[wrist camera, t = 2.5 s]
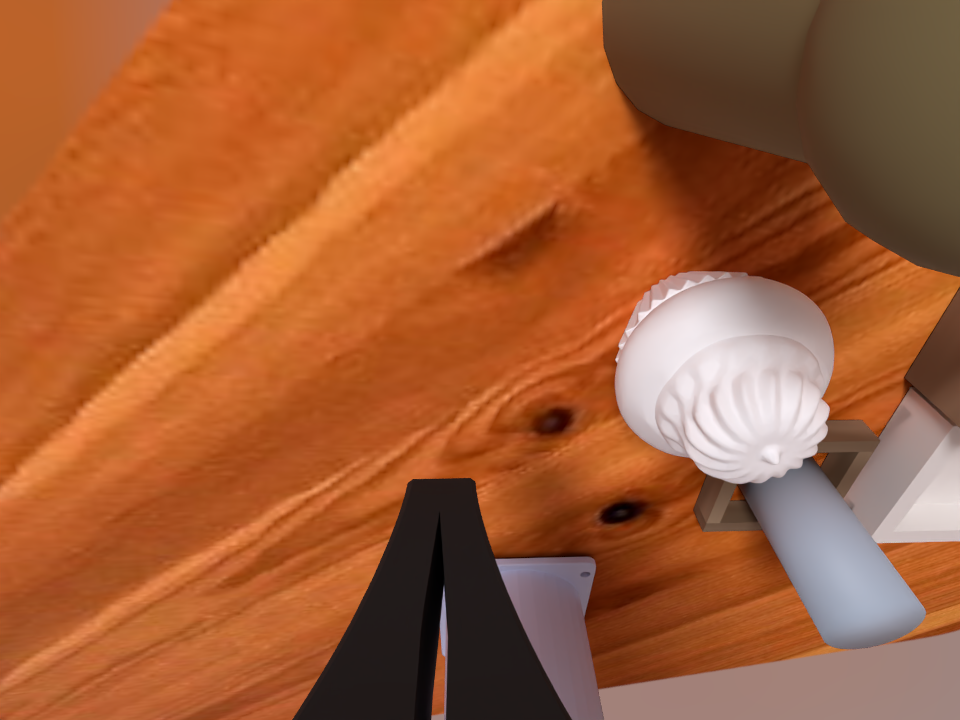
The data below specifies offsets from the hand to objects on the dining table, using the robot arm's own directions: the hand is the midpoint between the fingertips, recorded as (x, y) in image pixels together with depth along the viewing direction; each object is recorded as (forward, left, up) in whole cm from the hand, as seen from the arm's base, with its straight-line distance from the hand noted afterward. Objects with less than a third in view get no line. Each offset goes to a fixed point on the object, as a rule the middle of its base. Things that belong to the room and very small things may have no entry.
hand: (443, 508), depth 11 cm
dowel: (-8, -14, -8) cm, 18 cm away
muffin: (0, -8, -8) cm, 12 cm away
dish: (-7, -22, -8) cm, 24 cm away
